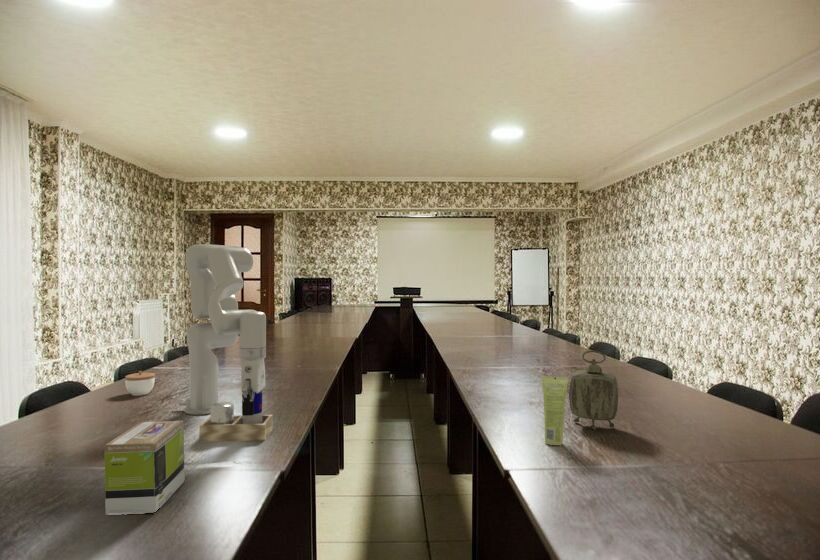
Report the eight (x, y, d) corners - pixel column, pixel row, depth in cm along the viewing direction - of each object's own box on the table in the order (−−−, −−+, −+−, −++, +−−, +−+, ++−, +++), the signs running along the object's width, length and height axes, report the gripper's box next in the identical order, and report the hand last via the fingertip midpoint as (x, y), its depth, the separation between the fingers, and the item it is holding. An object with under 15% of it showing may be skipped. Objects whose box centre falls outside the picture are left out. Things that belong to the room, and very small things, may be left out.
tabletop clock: (618, 427, 149) (618, 350, 149) (617, 435, 141) (618, 354, 141) (571, 421, 155) (571, 347, 155) (568, 429, 147) (568, 350, 147)
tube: (555, 439, 137) (555, 373, 137) (568, 444, 133) (568, 377, 133) (540, 442, 135) (541, 375, 135) (553, 447, 130) (553, 379, 130)
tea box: (140, 483, 106) (141, 420, 106) (185, 482, 107) (186, 419, 107) (103, 517, 91) (103, 443, 91) (155, 515, 92) (155, 441, 92)
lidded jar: (147, 389, 197) (147, 367, 197) (159, 393, 191) (160, 370, 191) (120, 394, 188) (120, 371, 188) (132, 398, 182) (132, 374, 182)
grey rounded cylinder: (207, 439, 133) (207, 408, 133) (214, 432, 139) (215, 402, 139) (229, 438, 134) (229, 407, 134) (236, 431, 140) (236, 402, 140)
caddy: (199, 444, 131) (199, 425, 131) (211, 433, 141) (211, 415, 141) (264, 443, 133) (265, 424, 133) (272, 432, 142) (272, 414, 142)
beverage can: (256, 438, 134) (256, 386, 134) (238, 437, 135) (238, 386, 135) (265, 432, 139) (265, 382, 139) (248, 431, 140) (248, 382, 140)
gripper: (258, 357, 129) (257, 418, 129) (272, 348, 146) (271, 402, 146) (230, 358, 128) (230, 419, 128) (248, 348, 145) (247, 402, 145)
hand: (252, 410), depth 137 cm, fingers open, 9 cm apart
